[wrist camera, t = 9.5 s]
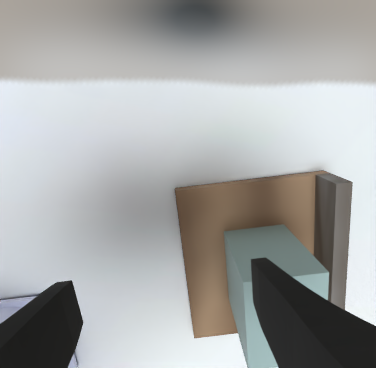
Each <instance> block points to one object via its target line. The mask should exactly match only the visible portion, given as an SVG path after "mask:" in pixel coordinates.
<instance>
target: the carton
mask: <svg viewBox="0 0 376 368" xmlns="http://www.w3.org/2000/svg"><path fill="white" fill-rule="evenodd" d="M224 242H225V255H226V268H227V281H228V294H229V301H230V305H231V309H232V312H233V316H234V320H235V323H236V327H237V331H238V334H239V338H240V342H241V345H242V349H243V353H244V356H245V360H246V363H247V367H248V368H276V367H278V365H277V363H276V360H275V358H274V356H273V354H272V351H271V349H270V347H269V345H268V342H267V340H266V338H265V336H264V333H263V331H262V329H261V326H260V323H259V320H258V317H257V314H256V310H255V307H254V304H253V293H252V274H251V259H256V258H264V257H266V258H268V259H269V260H270V261H272V262H273V263H274V264H276V265H277V266H278V267H280V268H281V269H282V270H284V271H285V272H286V273H288V274H289V275H290V276H292V277H293V278H294V279H296V280H297V281H299V282H300V283H302V284H303V285H304V286H306V287H307V288H309V289H310V290H312V291H313V292H315V293H317V294H318V295H320V296H321V297H323V298H325V299H326V300H328V286H329V272H328V271H327V270H326V269H325V267H324V266H323V265H322V264H321V263H320V262H319V261H318V260H317V259H316V258H315V257H314V256H313V255H312V254H311V253H310V252H309V251H308V249H307V248H306V247H305V246H304V245H303V244H302V243H301V242H300V241H299V240H298V239H297V238H296V237H295V236H294V235H293V234H292V233H291V231H290V230H289V229H288V228H287V227H286V226H285V225H284V224H282V225H274V226H265V227H257V228H248V229H239V230H231V231H224Z"/></svg>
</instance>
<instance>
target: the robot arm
mask: <svg viewBox="0 0 376 368" xmlns="http://www.w3.org/2000/svg"><path fill="white" fill-rule="evenodd" d="M251 274H252V293H253V304H254V307H255V310H256V314H257V317H258V320H259V323H260V326H261V329H262V331H263V333H264V336H265V338H266V340H267V342H268V345H269V347H270V349H271V351H272V354H273V356H274V358H275V360H276V363H277V365H278V367H279V368H376V326H374V325H372V324H370V323H368V322H366V321H364V320H362V319H360V318H358V317H357V316H355V315H353V314H351V313H349V312H347V311H345V310H343V309H342V308H340V307H338V306H336V305H335V304H333V303H331V302H329V301H328V300H326V299H325V298H323V297H321V296H320V295H318V294H317V293H315V292H313V291H312V290H310V289H309V288H307V287H306V286H304V285H303V284H302V283H300V282H299V281H297V280H296V279H294V278H293V277H292V276H290V275H289V274H288V273H286V272H285V271H284V270H282V269H281V268H280V267H278V266H277V265H276V264H274V263H273V262H272V261H270V260H269V259H268V258H266V257H264V258H256V259H251ZM82 325H83V320H82V316H81V312H80V308H79V305H78V301H77V297H76V294H75V290H74V286H73V282H72V281H64V282H57V283H55V284H53V285H52V286H50V287H49V288H48V289H46V290H45V291H43V292H42V293H41V294H39V295H38V296H32V297H24V298H16V299H7V300H0V368H78V366H77V362H76V359H75V355H74V352H75V349H76V346H77V343H78V339H79V336H80V332H81V329H82Z"/></svg>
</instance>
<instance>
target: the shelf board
mask: <svg viewBox="0 0 376 368" xmlns="http://www.w3.org/2000/svg"><path fill="white" fill-rule="evenodd" d="M175 195H176V202H177V210H178V218H179V225H180V233H181V240H182V248H183V256H184V263H185V271H186V279H187V286H188V294H189V301H190V309H191V317H192V324H193V332H194V338H201V337H209V336H218V335H226V334H234V333H238V331H237V327H236V323H235V320H234V316H233V312H232V309H231V305H230V301H229V294H228V281H227V268H226V255H225V242H224V231H231V230H239V229H248V228H257V227H265V226H274V225H282V224H284V225H285V226H286V227H287V228H288V229H289V230H290V231H291V233H292V234H293V235H294V236H295V237H296V238H297V239H298V240H299V241H300V242H301V243H302V244H303V245H304V246H305V247H306V248H307V249H308V251H309V252H310V253H311V254H312V255H313V256H314V257H315V258H316V259H317V260H318V261H319V262H320V263H321V264H322V265H323V266H324V267H325V269H326V270H327V271H328V272H329V286H328V301H329V302H331V303H333V304H335V305H336V306H338V307H340V308H342V309H343V310H345V296H346V279H347V263H348V247H349V231H350V215H351V199H352V182H351V181H348V180H346V179H343V178H341V177H338V176H336V175H333V174H331V173H328V172H326V171H316V172H307V173H299V174H290V175H282V176H273V177H265V178H256V179H248V180H239V181H231V182H222V183H214V184H205V185H197V186H188V187H180V188H175Z"/></svg>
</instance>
